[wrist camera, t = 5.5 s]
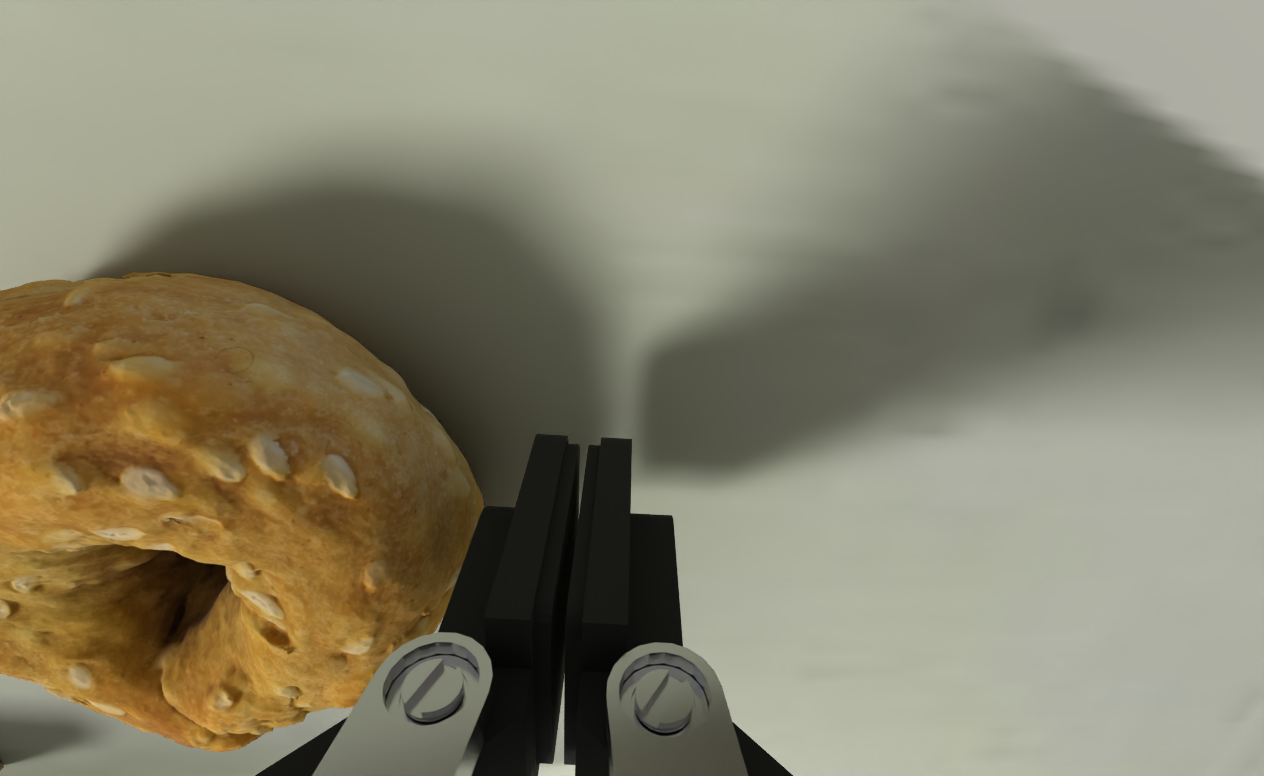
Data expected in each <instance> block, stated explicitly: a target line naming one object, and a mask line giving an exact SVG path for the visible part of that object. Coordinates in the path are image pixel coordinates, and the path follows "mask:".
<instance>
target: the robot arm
mask: <svg viewBox="0 0 1264 776" xmlns="http://www.w3.org/2000/svg"><path fill="white" fill-rule="evenodd" d="M631 457H632V439H620V438H601V446H598V445H589V447H588V454H587V461H586V469H585V476H584V483H583V491H582V498H581V506H580V513H579V458H580V447H579V444H569V443H568V436H564V435H545V434H537V435H536V437H535V440H534V444H533V447H532V451H531V454H530V458H529V461H528V465H527V468H526V472H525V475H524V479H523V482H522V486H521V489H520V493H519V496H518V500H517V503H516V507H515V508H513V507H493V506H486V507H485V508H483V510H482V512H481V515H480V517H479V520H478V523H477V526H476V528H475V531H474V534H473V537H472V539H471V542H470V545H469V548H468V551H467V553H466V556H465V559H464V562H463V565H462V567H461V570H460V573H459V576H458V578H457V581H456V584H455V587H454V590H453V592H452V595H451V598H450V601H449V603H448V606H447V609H446V612H445V615H444V617H443V620H442V623H441V626H440V629H439V631H438V633H434V634H429V635H424V636H420V637H418V638H416V639H414V640H412V641H410V642H407V643H405V644H403V645H402V646H401V647H400V648H398V649H397V650H396V651H394V652H393V653H392V654H390V655H389V656H388V657H387V658H386V660H385V661H384V662H383V663H382V665H381V666H380V667H379V668H378V670H377V671H376V672H375V674H374V676H373V677H372V679H371V681H370V682H369V684H368V685H367V687H366V689H365V690H364V692H363V694H362V695H361V697H360V698H359V700H358V702H357V703H356V705H355V707H354V708H353V710H352V711H351V713H350V715H349V716H348V717H347V718H345V719H344V720H342V721H341V722H339V723H338V724H336V725H334V726H333V727H331V728H330V729H328V730H326V731H325V732H323V733H322V734H320V735H319V736H317V737H315V738H314V739H312V740H311V741H309V742H307V743H306V744H304V745H303V746H301V747H300V748H298V749H296V750H295V751H293V752H292V753H290V754H288V755H287V756H285V757H284V758H282V759H281V760H279V761H277V762H276V763H274V764H273V765H271V766H270V767H268V768H266V769H265V770H263V771H262V772H260V773H258V774H257V775H255V776H538V770H539V763H547V764H553V760H554V753H555V746H556V738H557V730H558V722H559V714H560V705H561V697H562V689H563V681H564V673H565V710H564V764H569V765H576V767H575V776H793V775H792V774H791V773H789V772H788V771H787V770H786V769H785V768H784V767H783V766H782V765H780V764H779V763H778V762H777V761H776V760H775V759H774V758H773V757H771V756H770V755H769V754H768V753H767V752H766V751H765V750H764V749H762V748H761V747H760V746H759V745H758V744H757V743H756V742H755V741H753V740H752V739H751V738H750V737H749V736H748V735H747V734H746V733H744V732H743V731H742V730H741V729H740V728H739V727H738V726H737V725H735V724H734V723H733V722H732V719H731V716H730V712H729V709H728V706H727V702H726V699H725V695H724V692H723V689H722V686H721V684H720V682H719V679H718V677H717V675H716V673H715V671H714V670H713V669H712V668H711V667H710V665H709V664H708V663H707V662H706V661H705V660H704V659H703V658H702V657H701V656H699V655H697V654H696V653H694V652H693V651H691V650H690V649H688V648H685V647H683V642H682V629H681V616H680V602H679V589H678V576H677V563H676V549H675V536H674V524H673V517H672V516H670V515H650V514H630V505H631ZM578 515H579V520H578Z"/></svg>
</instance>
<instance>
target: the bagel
mask: <svg viewBox="0 0 1264 776" xmlns="http://www.w3.org/2000/svg"><path fill="white" fill-rule="evenodd" d="M121 278H122V279H114V278H94V279H87V280H81V281H77V282H71V281H65V280H46V281H37V282H31V283H27V284H24V285H22V286H20V287H15V288H11V289H7V290H3V291H0V674H5V675H8V676H13V677H16V678H18V679H24V680H28V681H31V682H33V683H37V684H39V685H42V686H43V687H44V688H45V689H46V690H47V691H49V692H50V693H52V694H53V695H55V696H57V697H59V698H62V699H66V700H69V701H71V702H75V703H78V704H82V705H84V706H86V707H88V708H90V709H92V710H94V711H96V712H98V713H101V714H105V715H108V716H110V717H114V718H117V719H119V720H121V721H122V722H124V723H125V724H129V725H131V726H133V727H136V728H137V729H139V730H141V731H144V732H151V733H158V734H160V735H162V736H164V737H165V738H170V739H172V740H173V741H175V742H177V743H179V744H182V745H185V746H188V747H196V748H202V749H205V750H211V751H218V752H223V751H230V750H235V749H240V748H242V747H244V746H246V745H247V744H249V743H250V742H251V741H254V740H256V739H257V738H258V737H260V736H261V735H263V734H264V733H266V732H271V731H273V727H284V726H289V725H293V724H296V723H299V722H302V721H303V720H304V719H305V717H306V714H307V713H309V712H315V711H319V710H323V709H325V708H352V707H355V705H356V703H357V702H358V700H359V698H360V697H361V695H362V694H363V692H364V690H365V689H366V687H367V685H368V684H369V682H370V681H371V679H372V677H373V676H374V674H375V672H376V671H377V670H378V668H379V667H380V666H381V665H382V663H383V662H384V661H385V660H386V658H387V657H388V656H389V655H390V654H392V653H393V652H394V651H396V650H397V649H398V648H400V647H401V646H402V645H403V644H405V643H407V642H410V641H412V640H414V639H416V638H418V637H420V636H424V635H429V634H433V633H434V632H435V630H436V629H437V627H438V625H439V624H440V623H441V621H442V619H443V617H444V615H445V612H446V609H447V606H448V603H449V601H450V598H451V595H452V592H453V590H454V587H455V584H456V581H457V578H458V576H459V573H460V570H461V567H462V565H463V562H464V559H465V556H466V553H467V551H468V548H469V545H470V542H471V539H472V537H473V534H474V531H475V528H476V526H477V523H478V520H479V517H480V515H481V512H482V510H483V508H484V505H483V498H482V494H481V492H480V490H479V488H478V486H477V484H476V481H475V479H474V477H473V475H472V473H471V470H470V467H469V465H468V463H467V461H466V459H465V457H464V456H463V454H462V453H461V451H460V450H459V448H458V447H457V446H456V444H455V443H454V442H453V441H452V440H451V438H450V437H449V435H448V434H447V433H446V431H445V430H444V428H443V427H442V425H441V424H440V423H439V422H438V420H437V419H436V417H435V416H434V415H433V414H432V413H431V412H430V411H429V410H428V409H426V408H425V407H424V406H422V405H421V404H420V403H419V402H418V401H417V400H416V399H415V398H414V397H413V396H412V394H411V393H410V391H409V390H408V388H407V386H406V384H405V382H404V380H403V379H402V378H401V376H400V375H399V374H397V372H396V371H394V370H393V369H392V368H391V367H389V366H387V365H386V364H384V363H383V362H381V361H380V360H379V359H377V358H376V357H375V356H374V355H373V354H372V353H371V352H370V351H368V350H367V349H366V348H365V347H363V346H362V345H361V344H360V343H359V342H357V341H356V340H355V339H354V338H352V337H351V336H349V335H348V334H346V333H344V332H343V331H341V330H339V329H338V328H336V327H335V326H333V325H332V324H331V323H330V322H328V321H327V320H326V319H325V318H323V317H322V316H320V315H318V314H317V313H315V312H313V311H311V310H309V309H307V308H305V307H303V306H301V305H298V304H296V303H294V302H292V301H289V300H287V299H285V298H283V297H281V296H279V295H276V294H274V293H272V292H269V291H266V290H264V289H261V288H257V287H255V286H250V285H248V284H245V283H242V282H239V281H233V280H227V279H221V278H215V277H208V276H204V275H198V274H193V273H175V274H172V273H171V274H169V273H166V272H149V273H139V272H132V273H129V274H127V275H123V276H122V277H121Z"/></svg>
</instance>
